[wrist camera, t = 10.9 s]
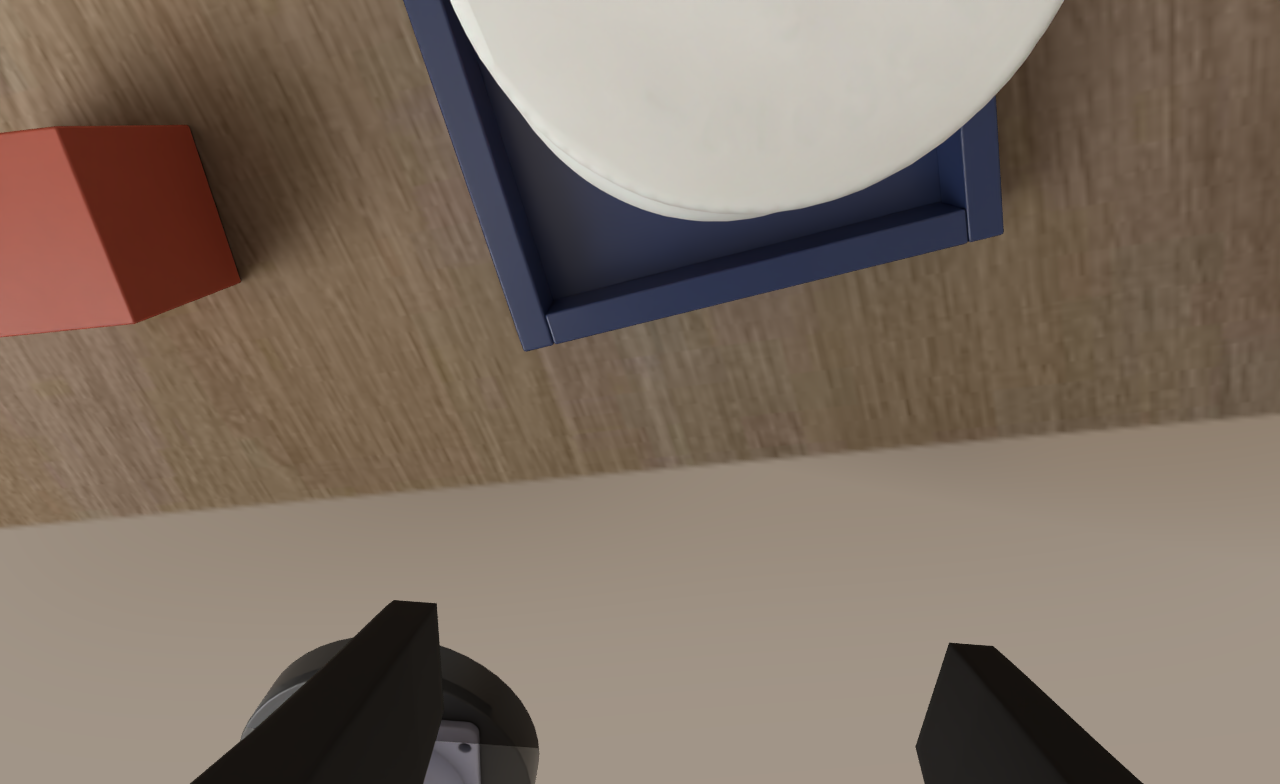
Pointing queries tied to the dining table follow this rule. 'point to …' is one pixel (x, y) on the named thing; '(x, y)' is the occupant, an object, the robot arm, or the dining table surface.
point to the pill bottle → (748, 90)
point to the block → (105, 227)
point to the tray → (665, 246)
